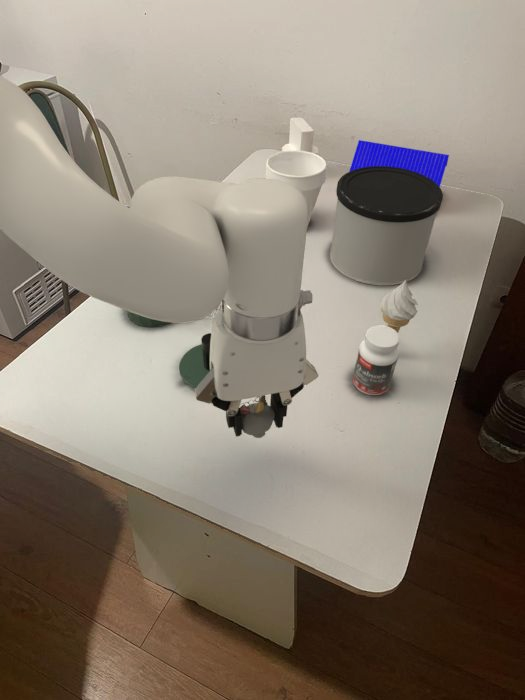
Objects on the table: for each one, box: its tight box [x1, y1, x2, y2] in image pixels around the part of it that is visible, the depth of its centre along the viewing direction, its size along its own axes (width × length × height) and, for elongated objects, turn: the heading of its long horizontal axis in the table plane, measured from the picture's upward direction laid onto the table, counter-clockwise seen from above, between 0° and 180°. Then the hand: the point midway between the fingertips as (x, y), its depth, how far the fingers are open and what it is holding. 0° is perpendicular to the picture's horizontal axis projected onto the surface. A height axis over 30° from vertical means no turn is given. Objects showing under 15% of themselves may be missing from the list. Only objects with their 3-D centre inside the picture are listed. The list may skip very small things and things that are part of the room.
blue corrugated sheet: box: [348, 139, 450, 188], centre depth 118 cm, size 12×20×12 cm, turn 68°
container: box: [329, 166, 444, 287], centre depth 98 cm, size 19×19×15 cm
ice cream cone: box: [380, 280, 419, 334], centre depth 78 cm, size 6×6×15 cm
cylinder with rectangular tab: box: [281, 116, 319, 155], centre depth 126 cm, size 9×9×12 cm
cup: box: [265, 150, 328, 227], centre depth 108 cm, size 12×12×14 cm
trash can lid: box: [178, 332, 216, 389], centre depth 78 cm, size 10×10×7 cm
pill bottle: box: [352, 324, 400, 396], centre depth 76 cm, size 6×6×10 cm
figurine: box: [239, 395, 275, 439], centre depth 62 cm, size 5×4×6 cm
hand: (256, 422), depth 63 cm, fingers closed on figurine, 4 cm apart
